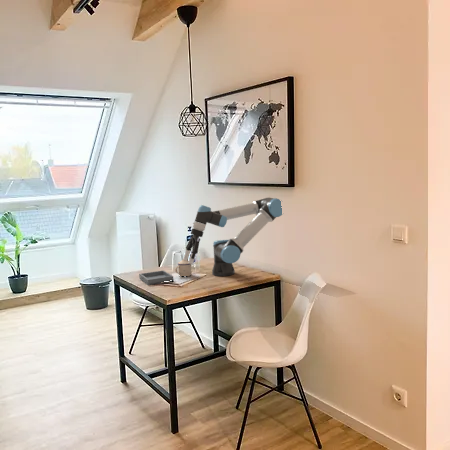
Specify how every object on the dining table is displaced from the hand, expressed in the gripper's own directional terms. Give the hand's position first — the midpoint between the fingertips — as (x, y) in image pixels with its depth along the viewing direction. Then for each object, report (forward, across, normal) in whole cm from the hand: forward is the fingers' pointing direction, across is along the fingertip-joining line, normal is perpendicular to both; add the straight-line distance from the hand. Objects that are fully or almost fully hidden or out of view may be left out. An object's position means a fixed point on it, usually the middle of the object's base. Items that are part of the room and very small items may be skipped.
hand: (187, 261), depth 297 cm
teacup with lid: (+12, -21, +6) cm, 25 cm away
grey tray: (+19, -19, -11) cm, 29 cm away
